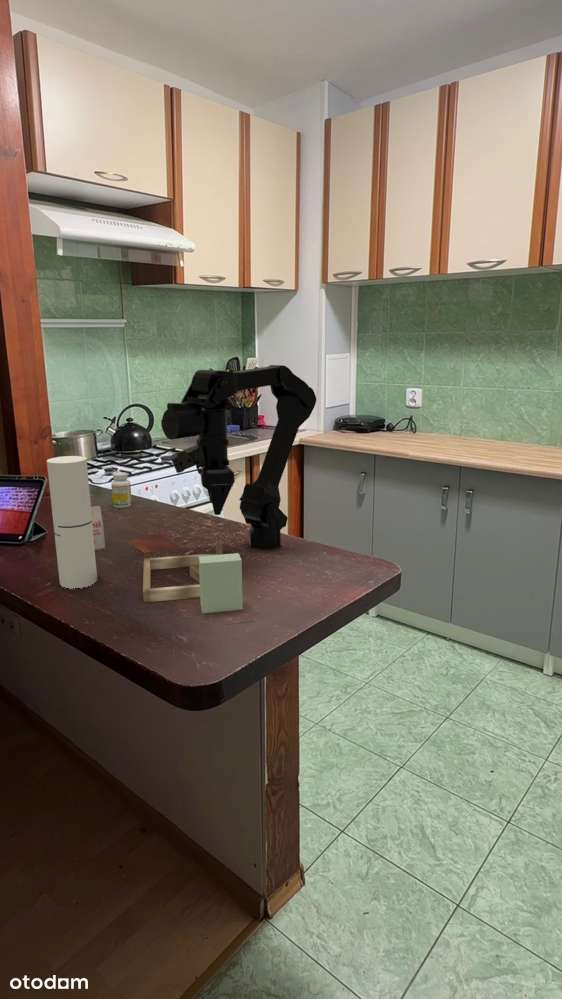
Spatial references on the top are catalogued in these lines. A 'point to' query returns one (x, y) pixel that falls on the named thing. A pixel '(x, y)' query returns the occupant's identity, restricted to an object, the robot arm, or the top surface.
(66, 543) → the cylindrical container
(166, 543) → the wooden tablet
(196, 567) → the tan flat block
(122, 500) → the supplement bottle
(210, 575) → the sage green prism
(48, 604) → the top surface
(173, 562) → the rack
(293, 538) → the top surface
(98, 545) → the white box
